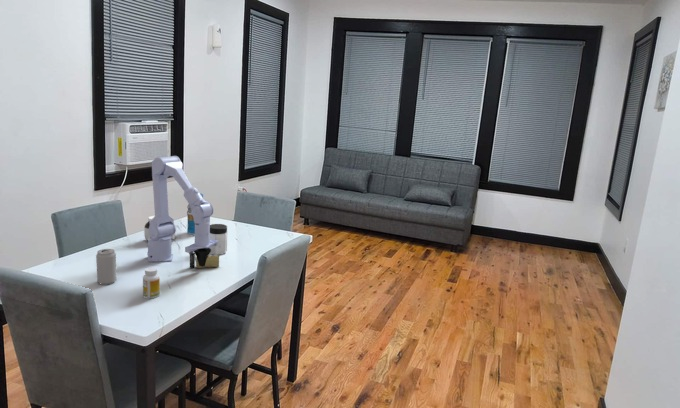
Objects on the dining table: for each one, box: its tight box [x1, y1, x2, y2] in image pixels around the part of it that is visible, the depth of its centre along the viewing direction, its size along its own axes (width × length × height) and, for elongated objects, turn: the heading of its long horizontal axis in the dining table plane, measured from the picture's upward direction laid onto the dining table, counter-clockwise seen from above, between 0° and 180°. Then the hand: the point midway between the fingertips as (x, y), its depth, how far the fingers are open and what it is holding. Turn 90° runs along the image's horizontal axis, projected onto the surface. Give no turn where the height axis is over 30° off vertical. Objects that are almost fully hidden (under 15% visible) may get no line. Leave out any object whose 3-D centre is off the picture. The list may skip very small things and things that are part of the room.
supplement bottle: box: [142, 266, 161, 299], centre depth 168 cm, size 5×5×10 cm
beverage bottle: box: [186, 192, 204, 236], centre depth 241 cm, size 8×8×20 cm
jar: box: [209, 223, 228, 256], centre depth 217 cm, size 9×8×12 cm
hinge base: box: [188, 251, 196, 269], centre depth 198 cm, size 12×3×7 cm, turn 107°
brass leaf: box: [195, 254, 220, 269], centre depth 198 cm, size 9×1×5 cm, turn 113°
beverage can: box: [95, 248, 117, 285], centre depth 176 cm, size 6×6×12 cm
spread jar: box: [143, 215, 176, 242], centre depth 226 cm, size 12×11×12 cm
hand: (201, 265), depth 194 cm, fingers closed
